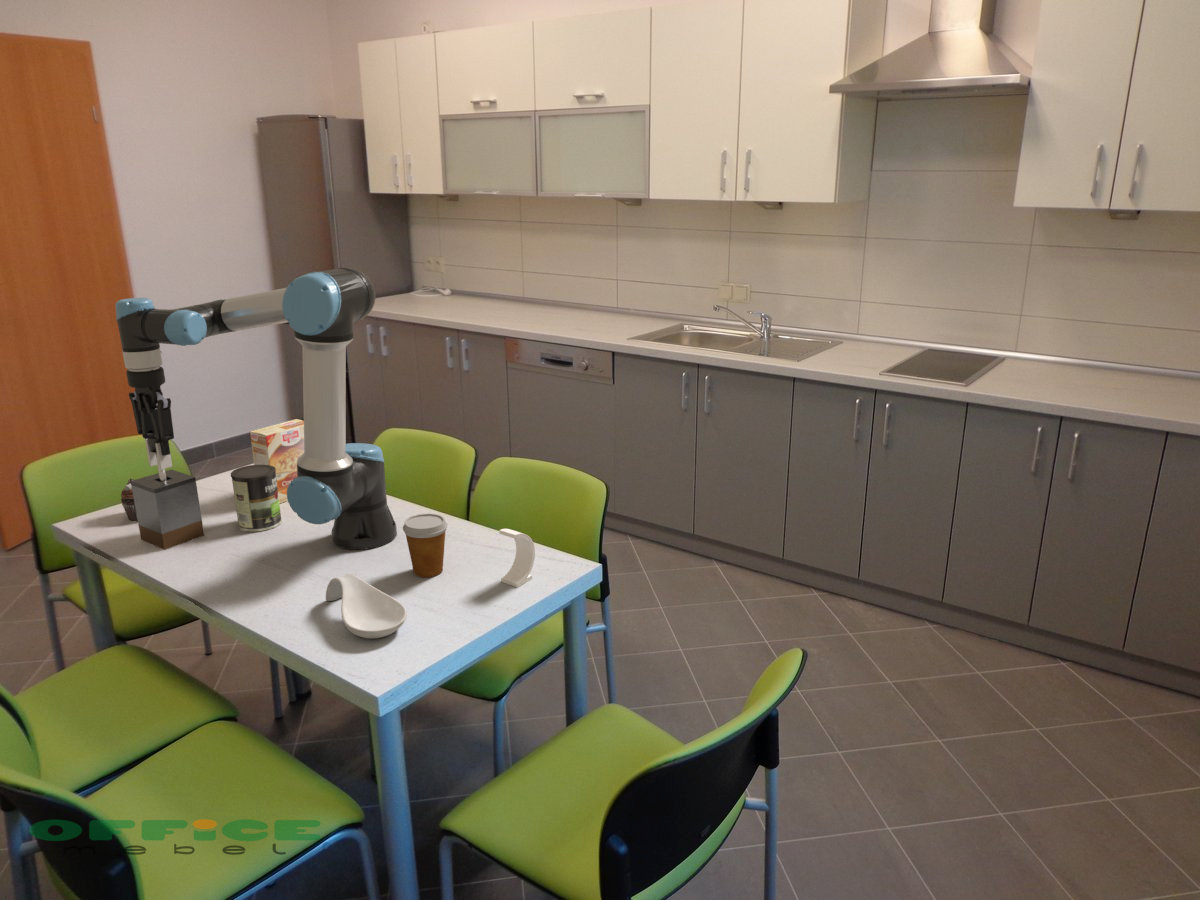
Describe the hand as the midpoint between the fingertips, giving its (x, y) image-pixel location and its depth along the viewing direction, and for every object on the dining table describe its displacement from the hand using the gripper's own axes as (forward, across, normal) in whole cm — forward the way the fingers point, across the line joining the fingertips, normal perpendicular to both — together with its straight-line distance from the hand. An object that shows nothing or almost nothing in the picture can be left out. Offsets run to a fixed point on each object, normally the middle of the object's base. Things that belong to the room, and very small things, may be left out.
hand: (160, 465), depth 200 cm
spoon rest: (+19, -68, +2) cm, 71 cm away
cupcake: (+18, +19, -4) cm, 27 cm away
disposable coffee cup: (+18, -64, -21) cm, 70 cm away
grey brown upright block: (+18, 0, 0) cm, 18 cm away
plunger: (+14, 0, 0) cm, 14 cm away
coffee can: (+18, -10, -17) cm, 27 cm away
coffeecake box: (+19, +1, -34) cm, 39 cm away
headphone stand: (+18, -83, -29) cm, 90 cm away
